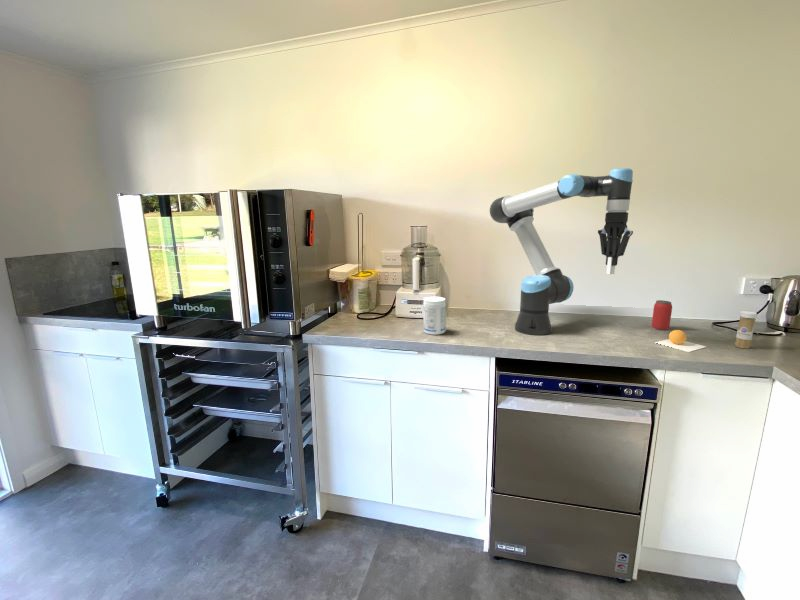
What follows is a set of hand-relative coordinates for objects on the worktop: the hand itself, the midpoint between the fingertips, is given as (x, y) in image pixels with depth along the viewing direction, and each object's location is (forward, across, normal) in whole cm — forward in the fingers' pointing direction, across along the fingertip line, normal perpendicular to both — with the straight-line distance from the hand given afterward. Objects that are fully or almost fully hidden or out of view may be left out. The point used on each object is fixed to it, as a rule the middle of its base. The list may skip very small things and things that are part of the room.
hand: (610, 273), depth 150 cm
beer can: (+26, -3, -35) cm, 44 cm away
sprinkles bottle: (+26, -32, -35) cm, 54 cm away
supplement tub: (+27, +40, +55) cm, 73 cm away
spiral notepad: (+26, -20, -18) cm, 37 cm away
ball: (+23, -18, -18) cm, 35 cm away
